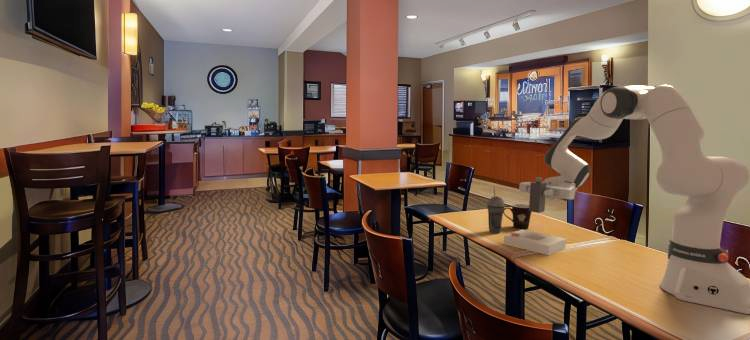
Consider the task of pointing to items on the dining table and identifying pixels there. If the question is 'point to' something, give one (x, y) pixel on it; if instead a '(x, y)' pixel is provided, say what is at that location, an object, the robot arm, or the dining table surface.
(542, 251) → the flat white box
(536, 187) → the dark grey bottle
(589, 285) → the dining table surface
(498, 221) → the beverage cup
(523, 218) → the coffee mug
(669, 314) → the dining table surface
